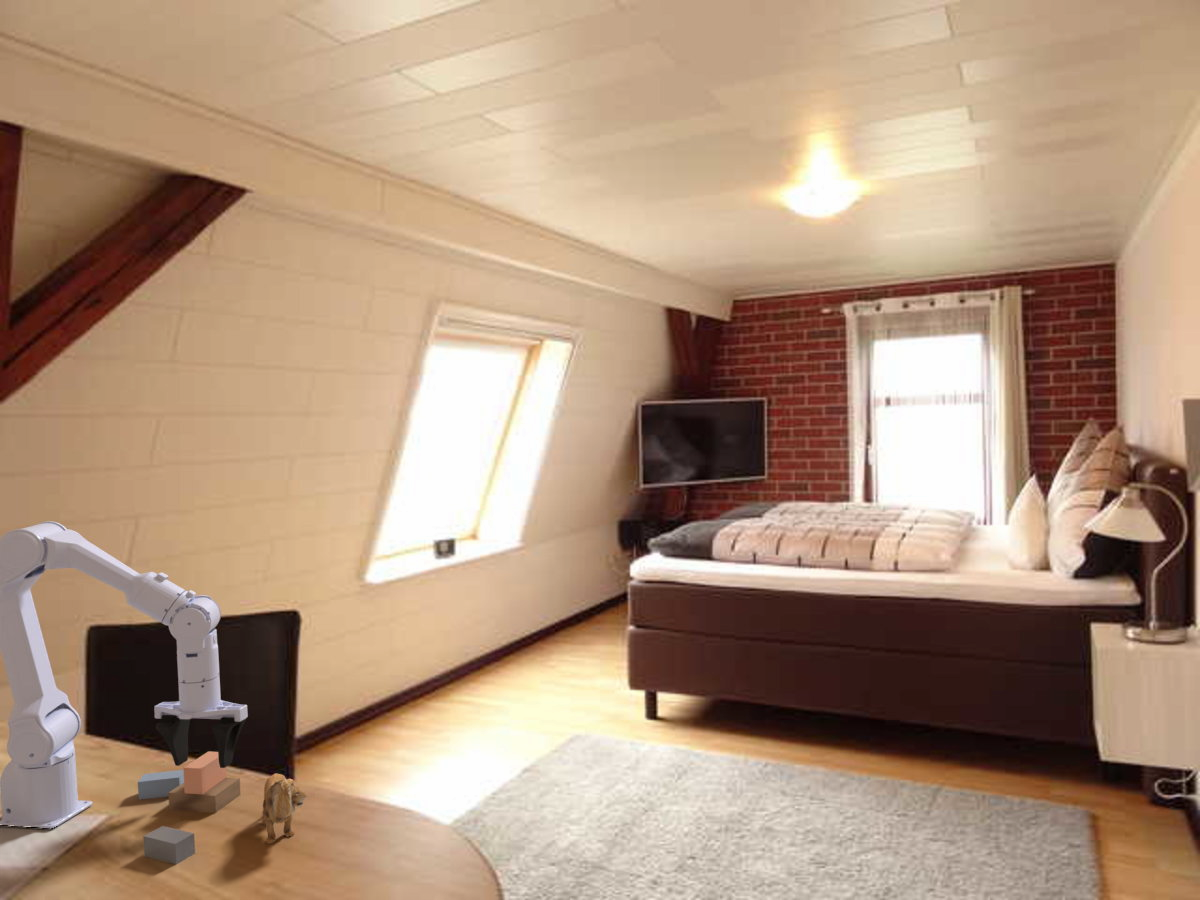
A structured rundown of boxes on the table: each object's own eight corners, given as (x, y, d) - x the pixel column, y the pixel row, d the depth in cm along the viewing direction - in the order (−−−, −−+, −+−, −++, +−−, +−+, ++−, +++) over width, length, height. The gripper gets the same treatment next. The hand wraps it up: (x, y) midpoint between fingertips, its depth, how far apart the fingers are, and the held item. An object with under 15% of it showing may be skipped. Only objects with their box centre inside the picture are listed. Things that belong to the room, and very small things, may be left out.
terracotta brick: (184, 793, 128) (183, 767, 128) (209, 776, 134) (208, 751, 134) (202, 794, 127) (201, 768, 127) (226, 777, 133) (225, 752, 133)
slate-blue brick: (138, 800, 132) (137, 782, 132) (145, 792, 135) (144, 773, 135) (180, 796, 133) (179, 777, 133) (185, 787, 136) (184, 769, 136)
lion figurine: (311, 843, 117) (308, 780, 116) (271, 855, 114) (268, 790, 114) (285, 803, 129) (282, 746, 129) (248, 814, 126) (245, 755, 126)
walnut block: (169, 811, 128) (168, 792, 128) (195, 793, 134) (194, 775, 134) (216, 815, 127) (215, 795, 127) (240, 797, 133) (239, 778, 133)
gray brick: (144, 857, 115) (143, 836, 115) (163, 846, 118) (162, 825, 117) (176, 865, 112) (175, 843, 112) (195, 854, 115) (194, 833, 115)
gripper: (138, 684, 127) (143, 773, 128) (226, 687, 124) (230, 777, 125) (169, 670, 134) (174, 754, 135) (253, 672, 131) (257, 757, 132)
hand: (203, 764), depth 130 cm, fingers open, 7 cm apart
